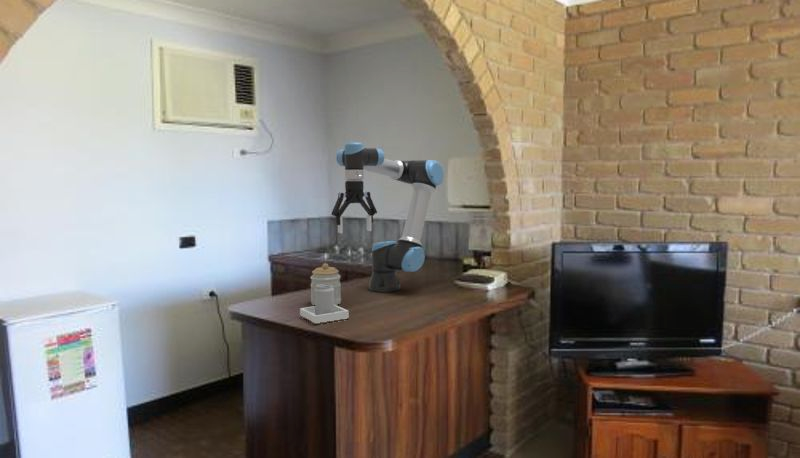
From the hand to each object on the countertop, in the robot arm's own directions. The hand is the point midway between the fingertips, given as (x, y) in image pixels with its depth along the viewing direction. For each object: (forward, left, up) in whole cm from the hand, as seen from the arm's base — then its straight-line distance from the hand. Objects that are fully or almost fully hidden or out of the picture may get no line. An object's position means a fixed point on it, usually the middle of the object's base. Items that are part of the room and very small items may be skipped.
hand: (354, 231), depth 225 cm
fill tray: (+9, -19, -32) cm, 38 cm away
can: (+9, -19, -31) cm, 37 cm away
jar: (-12, -8, -32) cm, 35 cm away
